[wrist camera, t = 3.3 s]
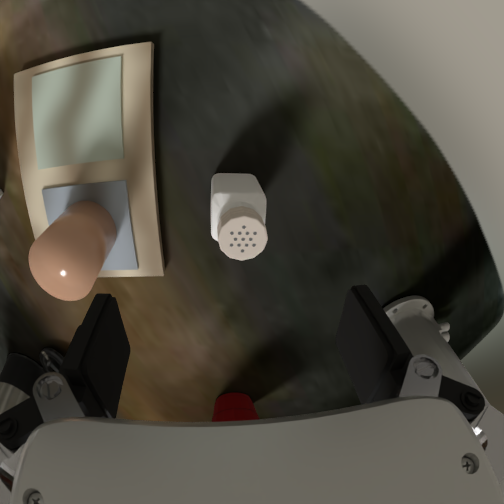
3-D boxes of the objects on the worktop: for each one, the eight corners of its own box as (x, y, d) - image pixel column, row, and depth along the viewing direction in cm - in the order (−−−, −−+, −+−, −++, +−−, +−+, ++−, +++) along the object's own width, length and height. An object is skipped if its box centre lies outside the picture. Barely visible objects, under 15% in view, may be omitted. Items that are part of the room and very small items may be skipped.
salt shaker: (252, 213, 29) (270, 265, 21) (210, 212, 28) (211, 266, 20) (256, 172, 27) (277, 210, 19) (211, 171, 26) (212, 209, 18)
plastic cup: (278, 385, 43) (294, 453, 32) (253, 419, 47) (263, 478, 37) (208, 376, 40) (212, 452, 29) (192, 412, 44) (194, 476, 34)
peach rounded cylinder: (111, 198, 25) (83, 231, 19) (121, 256, 28) (101, 301, 22) (56, 203, 24) (20, 236, 18) (69, 258, 27) (41, 300, 21)
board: (154, 44, 20) (150, 41, 19) (165, 269, 31) (163, 277, 29) (20, 73, 18) (12, 74, 17) (50, 271, 29) (45, 278, 28)
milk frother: (8, 372, 37) (-18, 437, 24) (3, 316, 31) (-40, 394, 18) (75, 404, 42) (60, 475, 29) (86, 357, 36) (61, 447, 23)
